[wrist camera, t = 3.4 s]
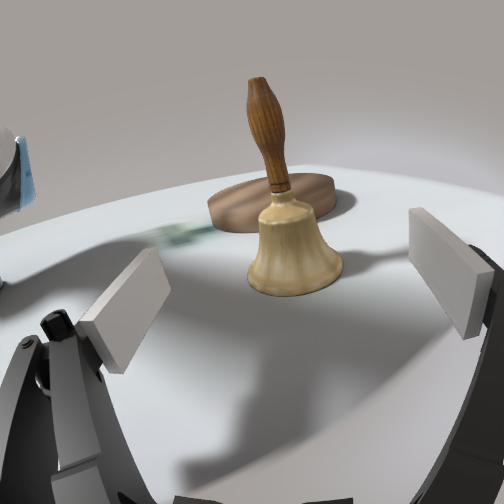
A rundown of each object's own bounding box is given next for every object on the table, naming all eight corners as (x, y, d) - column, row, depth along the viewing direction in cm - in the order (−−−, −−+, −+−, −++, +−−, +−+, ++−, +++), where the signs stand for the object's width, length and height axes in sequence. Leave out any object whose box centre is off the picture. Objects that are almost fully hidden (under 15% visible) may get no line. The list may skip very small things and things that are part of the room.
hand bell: (282, 310, 21) (234, 69, 15) (232, 272, 28) (189, 95, 22) (363, 266, 24) (339, 65, 18) (303, 241, 31) (275, 83, 25)
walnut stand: (187, 228, 43) (181, 209, 42) (259, 191, 55) (256, 175, 54) (298, 238, 32) (294, 211, 31) (353, 191, 44) (351, 172, 43)
